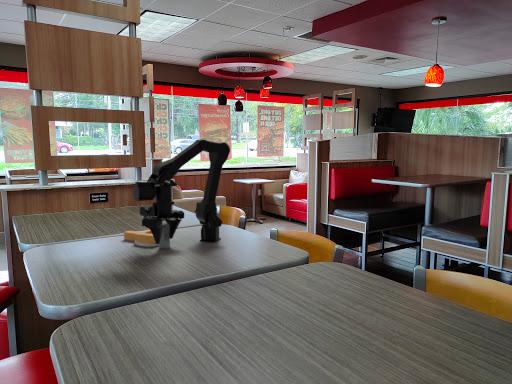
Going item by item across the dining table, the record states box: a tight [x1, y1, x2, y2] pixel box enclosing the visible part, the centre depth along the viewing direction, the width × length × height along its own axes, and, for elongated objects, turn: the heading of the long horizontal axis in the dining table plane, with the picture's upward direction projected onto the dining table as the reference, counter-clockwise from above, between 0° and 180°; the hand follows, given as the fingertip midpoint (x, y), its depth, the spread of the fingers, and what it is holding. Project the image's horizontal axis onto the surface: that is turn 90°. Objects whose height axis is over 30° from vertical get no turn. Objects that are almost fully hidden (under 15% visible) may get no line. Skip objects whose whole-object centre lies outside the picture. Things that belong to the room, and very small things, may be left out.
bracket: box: [123, 228, 159, 248], centre depth 146 cm, size 19×13×4 cm
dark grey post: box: [158, 222, 171, 250], centre depth 136 cm, size 3×2×9 cm
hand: (164, 241), depth 137 cm, fingers open, 8 cm apart
